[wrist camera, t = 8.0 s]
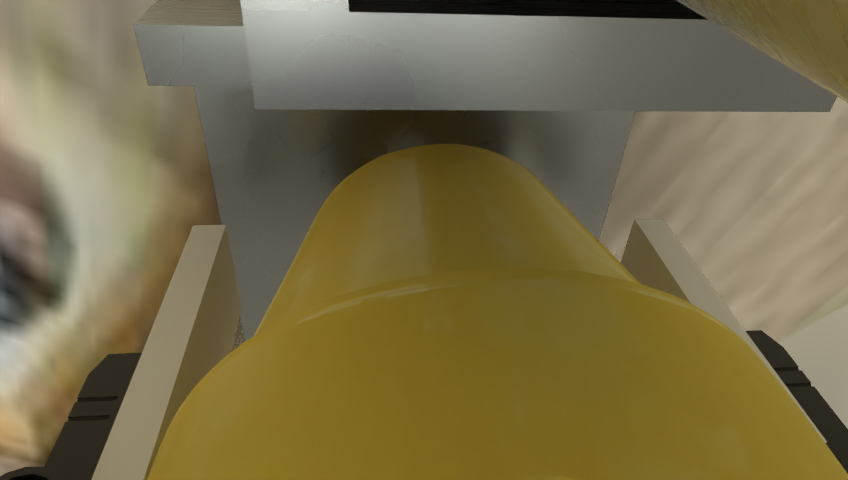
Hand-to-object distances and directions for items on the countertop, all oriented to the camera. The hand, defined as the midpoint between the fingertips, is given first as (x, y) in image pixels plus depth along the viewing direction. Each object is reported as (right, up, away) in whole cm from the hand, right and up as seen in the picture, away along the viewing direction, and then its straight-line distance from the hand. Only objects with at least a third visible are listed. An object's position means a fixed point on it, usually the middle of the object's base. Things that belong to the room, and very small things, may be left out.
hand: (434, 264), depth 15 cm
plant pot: (0, 0, 0) cm, 1 cm away
